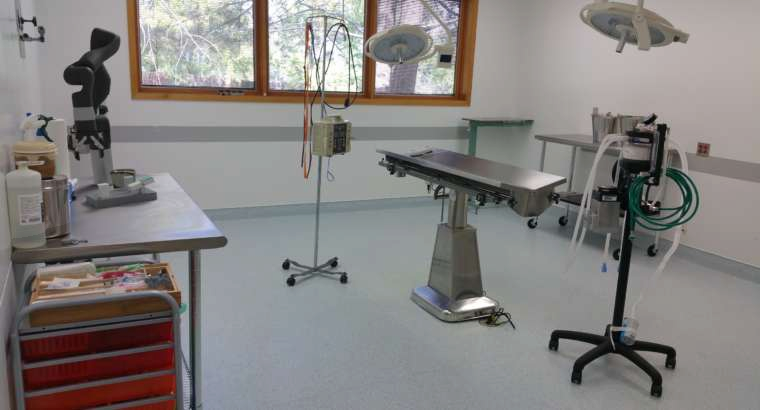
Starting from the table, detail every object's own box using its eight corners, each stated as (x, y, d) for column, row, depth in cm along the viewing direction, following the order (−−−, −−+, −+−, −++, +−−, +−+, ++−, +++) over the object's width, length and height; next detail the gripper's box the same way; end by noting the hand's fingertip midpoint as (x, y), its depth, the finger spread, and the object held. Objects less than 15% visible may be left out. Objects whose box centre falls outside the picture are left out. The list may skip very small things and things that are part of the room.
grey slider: (124, 189, 238) (122, 176, 236) (132, 188, 240) (130, 175, 238) (127, 190, 235) (125, 178, 234) (135, 189, 237) (133, 177, 236)
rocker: (128, 189, 231) (126, 184, 230) (150, 180, 237) (148, 175, 236) (132, 191, 227) (130, 186, 226) (155, 182, 233) (153, 177, 232)
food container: (144, 190, 251) (141, 168, 249) (137, 193, 245) (134, 171, 243) (118, 189, 252) (116, 168, 250) (111, 192, 246) (108, 170, 244)
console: (86, 201, 229) (84, 188, 228) (144, 193, 245) (142, 181, 244) (97, 208, 218) (95, 194, 217) (157, 198, 234) (155, 186, 233)
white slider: (99, 197, 223) (97, 184, 221) (107, 196, 225) (106, 183, 223) (101, 198, 220) (100, 185, 219) (110, 197, 222) (109, 184, 221)
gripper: (100, 117, 222) (105, 156, 226) (61, 119, 212) (67, 160, 216) (106, 118, 217) (111, 158, 221) (67, 120, 207) (73, 162, 211)
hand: (89, 159), depth 218 cm, fingers open, 8 cm apart
